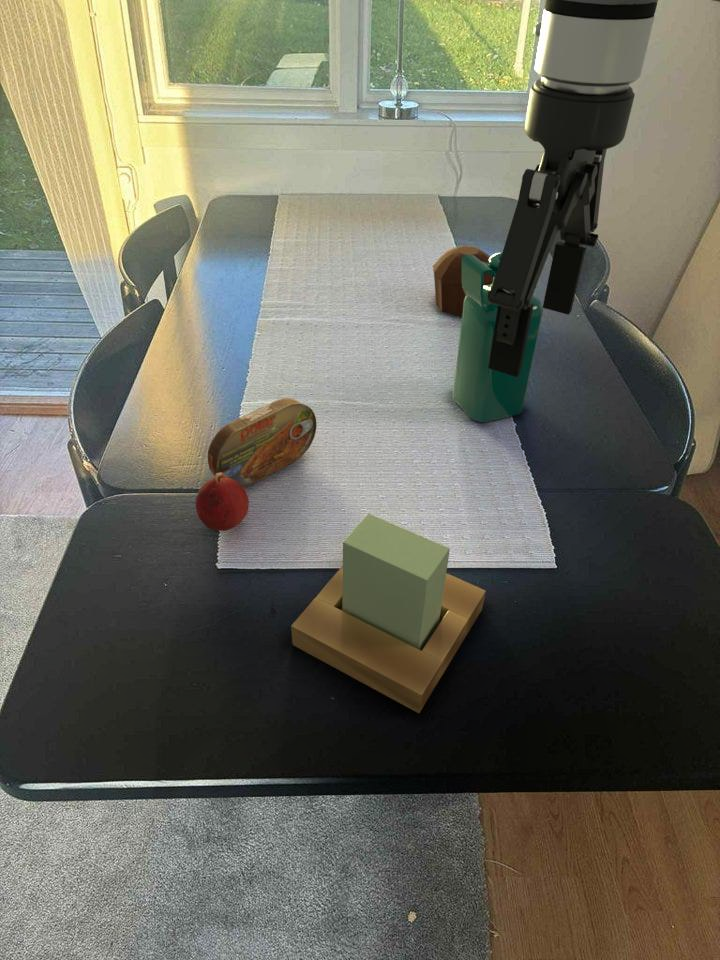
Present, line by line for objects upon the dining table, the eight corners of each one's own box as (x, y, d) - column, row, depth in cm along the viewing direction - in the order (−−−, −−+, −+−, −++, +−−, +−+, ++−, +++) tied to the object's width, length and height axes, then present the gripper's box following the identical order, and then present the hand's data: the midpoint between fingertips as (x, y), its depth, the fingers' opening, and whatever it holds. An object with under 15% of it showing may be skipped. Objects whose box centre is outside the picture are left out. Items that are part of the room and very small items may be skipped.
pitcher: (497, 383, 105) (521, 239, 90) (528, 414, 99) (560, 265, 85) (439, 396, 102) (455, 249, 87) (467, 428, 96) (489, 277, 82)
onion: (233, 552, 78) (225, 499, 72) (190, 536, 79) (179, 483, 74) (260, 519, 82) (255, 466, 76) (218, 504, 83) (210, 452, 78)
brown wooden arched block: (496, 322, 119) (505, 266, 113) (431, 320, 119) (437, 264, 113) (488, 291, 128) (496, 237, 122) (428, 289, 128) (433, 235, 122)
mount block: (365, 556, 78) (366, 537, 76) (482, 609, 72) (486, 590, 70) (292, 645, 68) (290, 625, 66) (419, 713, 63) (421, 695, 61)
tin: (222, 500, 84) (214, 445, 78) (208, 487, 86) (199, 432, 80) (319, 449, 92) (317, 395, 86) (303, 438, 94) (301, 385, 88)
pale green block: (364, 596, 73) (368, 512, 65) (437, 631, 70) (450, 548, 62) (341, 625, 70) (342, 542, 62) (416, 663, 67) (427, 580, 59)
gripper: (586, 50, 61) (540, 280, 75) (466, 108, 45) (436, 387, 59) (674, 61, 58) (610, 297, 72) (580, 126, 42) (520, 416, 56)
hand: (532, 338), depth 65 cm, fingers open, 13 cm apart
